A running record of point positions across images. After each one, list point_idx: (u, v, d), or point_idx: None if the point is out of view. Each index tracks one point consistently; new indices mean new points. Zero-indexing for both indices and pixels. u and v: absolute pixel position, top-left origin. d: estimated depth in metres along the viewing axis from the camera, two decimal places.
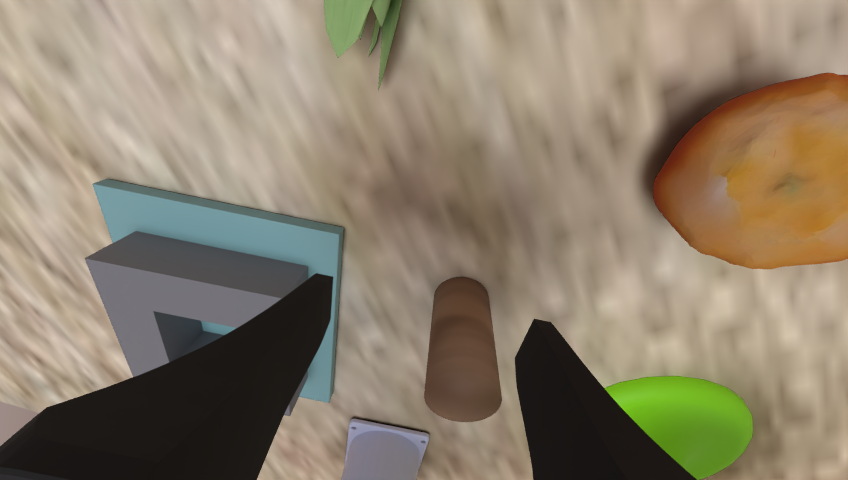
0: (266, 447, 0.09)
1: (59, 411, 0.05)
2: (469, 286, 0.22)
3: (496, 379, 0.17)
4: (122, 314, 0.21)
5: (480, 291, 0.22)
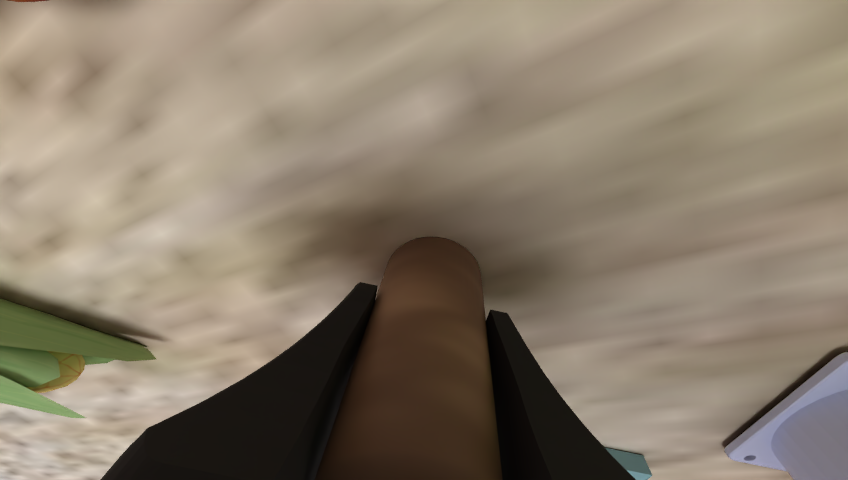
0: None
1: (161, 432, 0.05)
2: (382, 280, 0.13)
3: (355, 430, 0.06)
4: None
5: (391, 264, 0.12)
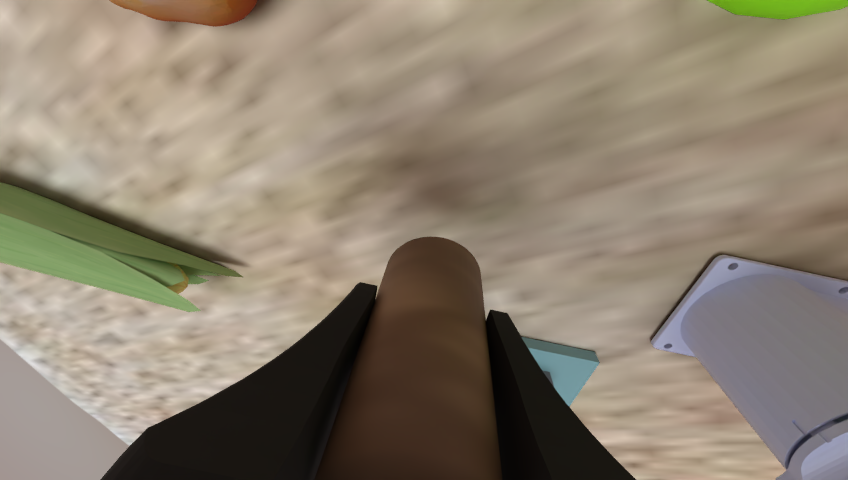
0: None
1: (161, 432, 0.05)
2: None
3: (355, 429, 0.06)
4: None
5: (390, 264, 0.12)
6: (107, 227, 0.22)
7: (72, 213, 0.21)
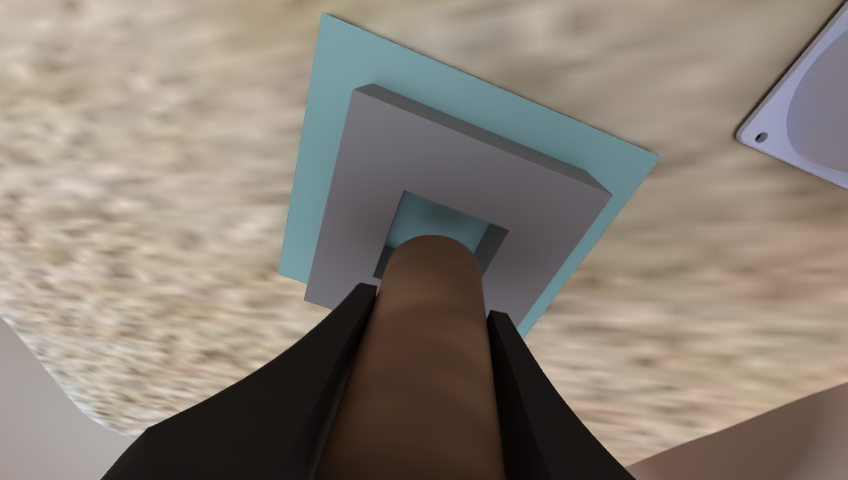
0: None
1: (160, 432, 0.05)
2: None
3: (353, 423, 0.06)
4: None
5: (390, 263, 0.12)
6: None
7: None
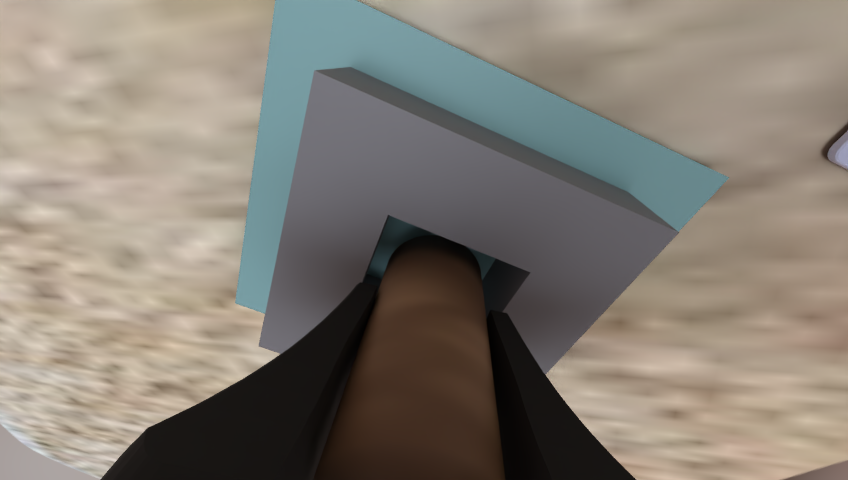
0: None
1: (161, 432, 0.05)
2: None
3: (353, 423, 0.06)
4: None
5: (390, 263, 0.12)
6: None
7: None
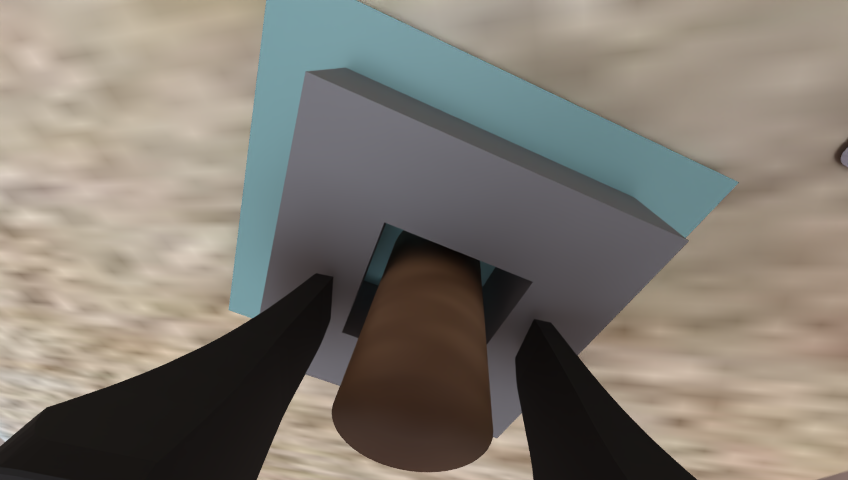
0: (266, 447, 0.09)
1: (59, 411, 0.05)
2: None
3: (365, 361, 0.08)
4: None
5: (396, 243, 0.14)
6: None
7: None
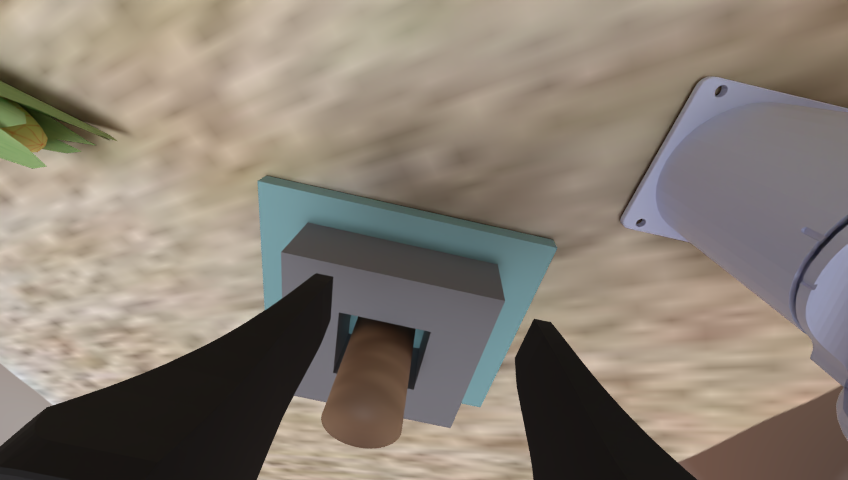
0: (266, 447, 0.09)
1: (59, 411, 0.05)
2: None
3: (332, 396, 0.16)
4: None
5: None
6: None
7: None
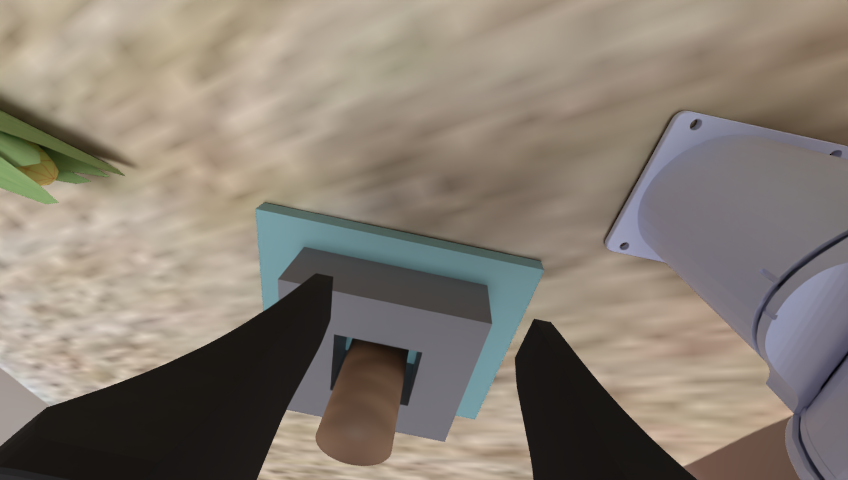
0: (266, 447, 0.09)
1: (59, 411, 0.05)
2: None
3: (326, 416, 0.17)
4: None
5: None
6: None
7: None
